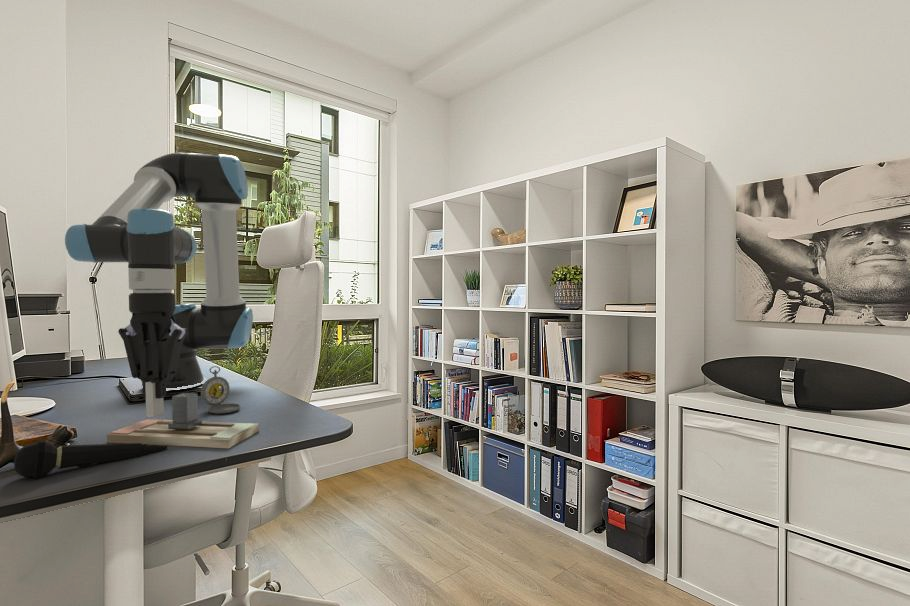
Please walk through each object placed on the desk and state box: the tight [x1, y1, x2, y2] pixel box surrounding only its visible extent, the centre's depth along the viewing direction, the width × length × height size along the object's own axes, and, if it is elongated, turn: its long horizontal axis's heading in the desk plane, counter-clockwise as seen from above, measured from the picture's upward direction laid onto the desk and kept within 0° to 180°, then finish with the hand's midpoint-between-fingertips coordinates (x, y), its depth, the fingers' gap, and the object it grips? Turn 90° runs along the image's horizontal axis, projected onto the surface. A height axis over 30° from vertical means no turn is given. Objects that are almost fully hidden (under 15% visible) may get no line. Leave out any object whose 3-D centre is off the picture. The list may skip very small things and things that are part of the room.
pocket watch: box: [200, 365, 241, 415], centre depth 111 cm, size 8×8×10 cm
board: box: [106, 418, 260, 449], centre depth 92 cm, size 10×24×2 cm, turn 83°
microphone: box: [13, 439, 168, 479], centre depth 78 cm, size 6×6×20 cm
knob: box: [168, 392, 203, 430], centre depth 92 cm, size 4×4×6 cm
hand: (155, 414), depth 93 cm, fingers closed
